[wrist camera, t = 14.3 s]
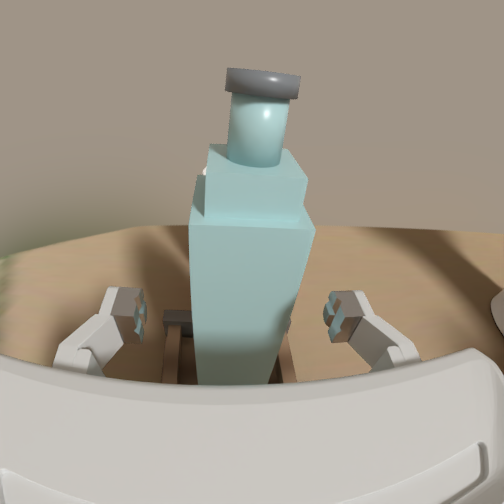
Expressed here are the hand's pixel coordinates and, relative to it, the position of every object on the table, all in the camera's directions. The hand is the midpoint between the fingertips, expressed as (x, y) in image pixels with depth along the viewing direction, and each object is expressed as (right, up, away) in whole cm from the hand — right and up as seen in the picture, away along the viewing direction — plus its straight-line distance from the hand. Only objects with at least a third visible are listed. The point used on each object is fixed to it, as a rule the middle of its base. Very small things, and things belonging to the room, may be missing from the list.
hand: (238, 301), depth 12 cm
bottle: (-2, -10, +12) cm, 16 cm away
